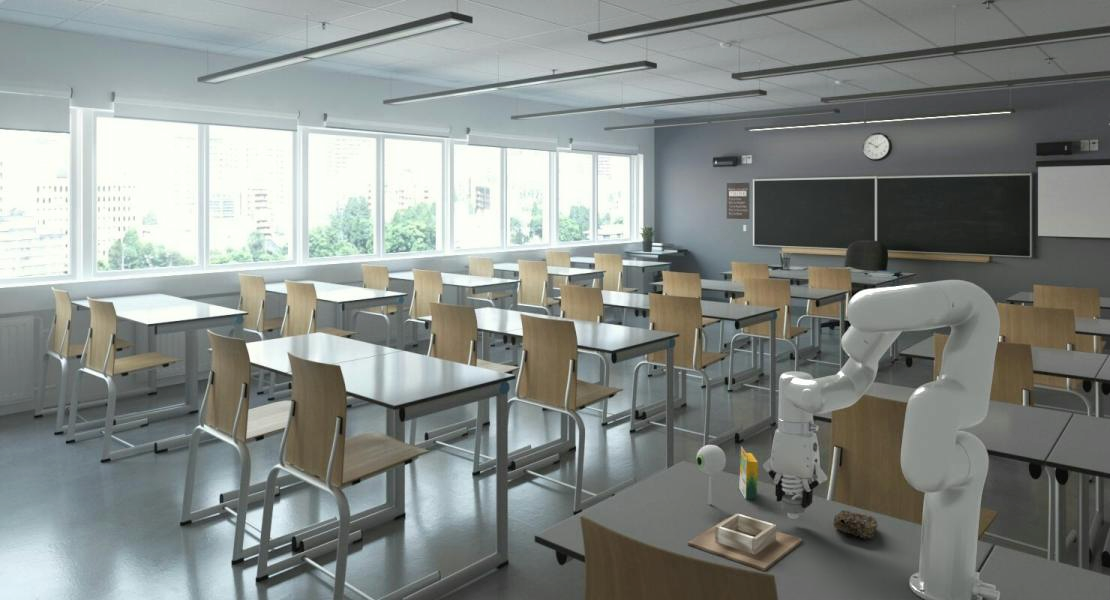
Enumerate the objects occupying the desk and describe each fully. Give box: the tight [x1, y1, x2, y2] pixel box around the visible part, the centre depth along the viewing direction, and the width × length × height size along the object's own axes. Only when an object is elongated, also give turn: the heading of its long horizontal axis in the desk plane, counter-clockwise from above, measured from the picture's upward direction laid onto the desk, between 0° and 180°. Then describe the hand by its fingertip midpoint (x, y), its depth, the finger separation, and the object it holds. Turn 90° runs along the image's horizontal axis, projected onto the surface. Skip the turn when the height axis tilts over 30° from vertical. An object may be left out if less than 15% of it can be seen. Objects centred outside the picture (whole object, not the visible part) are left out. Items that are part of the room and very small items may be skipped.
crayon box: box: [738, 445, 759, 501], centre depth 199 cm, size 7×3×12 cm, turn 179°
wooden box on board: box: [687, 512, 803, 572], centre depth 171 cm, size 18×18×4 cm
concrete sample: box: [833, 509, 879, 540], centre depth 177 cm, size 12×10×5 cm
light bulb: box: [781, 474, 806, 521], centre depth 180 cm, size 6×6×12 cm
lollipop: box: [695, 444, 727, 505], centre depth 192 cm, size 7×7×15 cm
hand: (793, 502), depth 180 cm, fingers closed on light bulb, 5 cm apart
